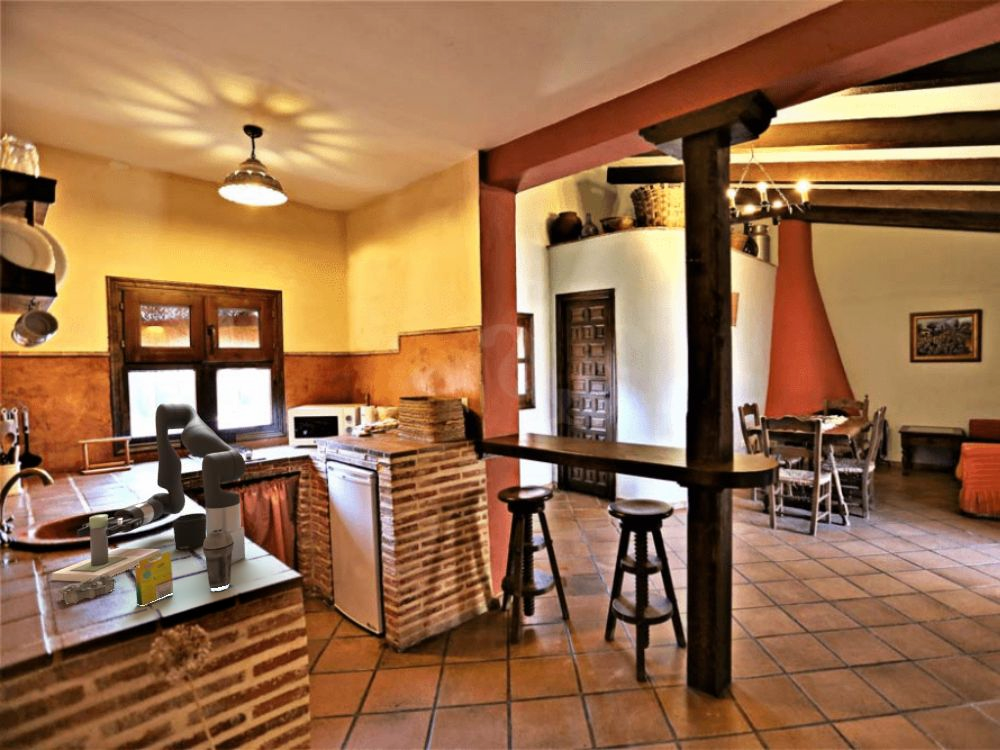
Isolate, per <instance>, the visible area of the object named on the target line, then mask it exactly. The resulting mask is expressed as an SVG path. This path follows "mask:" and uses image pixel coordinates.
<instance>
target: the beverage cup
mask: <svg viewBox="0 0 1000 750" xmlns="http://www.w3.org/2000/svg"><path fill="white" fill-rule="evenodd" d="M216 523H217V530H214V531H212V532H211V533H209V534H208V535H207V534H206V538H205V540H204V543H203V547H202V550H203V554H204V557H205V564H206V571H207V579H208V585H209V589H210V588H218V587H222V586H226V585H228V584H229V583H230V584H231V576H232V575H231V574H232V573H231V572H232V564H231V560H232V550H233V544H234V542H233V538H232V536H231V534H230V533H229V532H228V531H226V530H222V529H219V516H218V512H217V513H216Z"/></svg>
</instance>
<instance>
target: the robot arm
mask: <svg viewBox="0 0 1000 750" xmlns="http://www.w3.org/2000/svg"><path fill="white" fill-rule="evenodd" d="M154 418H155V419H154V420H155V422H154V423H155V435H156V446H157V457H158V464H157V465H158V467H157V479H156V480H157V481H156V483H157V486H158V487H159V488H161V489H164V490H166V491H167V492H159V493H155V494H153V495H152V496H151V497H149V498H148V499H147V500H145V501H143V502H139V503H135V504H132V505H130V506H127V507H124V508H122V509H119V510H117V511H116V512H114V514H113V516H112V517H109V518H108V526H107V527H108V529H106V536H108V537H111V536H114V535H116V534H118V533H119V534H125V533H130V532H132V531H134V530H136V529H139V528H141V527H143V526H145V525H147V524H148V523H150V522H153V521H155V520H158V519H159V518H161V516H162V515H163V514H168V515H177V514H179V513H181V512H182V511H183V510H184V508H185V505H186V497H185V492H184V488H183V485H182V470H183V469H182V468H183V465H182V460H181V457H180V455H179V454H178V452H177V451H176V450H175V448H174V446H173V444H172V443H171V442H170V438H169V430H182V431H181V435H180V440H181V443H182V445H183V447H185V448H186V449H187V451H188V452H189V453H190V454H191V455H193V456H195V457H199V458H202V462H201V475H202V481H203V482H202V483H203V495H204V502H205V514H206V536H207V535H208V534H209V533H211V532H212V531H214V530H217V523H216V513H217V512H218V516H219V529H222V530H226V531H228V532H229V533H230V534H231V536H232V538H233V542H234V544H233V550H232V560H231V565H233V564H235V563H237V562H239V561H241V560H242V559H244V558H246V547H245V546H246V545H245V544H246V543H245V527H244V526H242V523H241V522H242V521H241V519H242V518H241V517H242V516H241V496H240V493H238V492H236V491H232V490H231V491H229V490H225V489H222V488H221V483H227V482H228V483H229V482H231V481H237V480H239V479H241V478H242V477H243V476H244V475H245V473H246V470H247V468H246V467H247V466H246V461H245V459H244V457H243V456H242V454H241V452H239V451H238V450H236V448H234V447H233V446H231V445H229V444H228V443H227V442H226V441H224V440H223V439H221V438H220V436H218V435H217V434H216V432H215V431H214V430H213V429H212V428H211V427H209V426H208V424H207V423H205V422H204V420H202V419H201V418H200V416H199V414H198V413H197V411H196V409H194V407H193V406H192V405H190V404H189V403H185V402H176V403H175V402H174V403H172V402H169V403H167V402H166V403H165V402H164V403H159V405H158V406H157V408H156V410H155V417H154ZM88 535H90V522H87V523H84V524H82V525H81V528H79V529H77V530H76V537H77V538H83V537H84V536H88ZM243 557H244V558H243ZM241 558H242V559H241ZM240 559H241V560H240ZM238 560H239V561H238ZM236 561H237V562H236ZM234 562H235V563H234ZM232 563H233V564H232Z"/></svg>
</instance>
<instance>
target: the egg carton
mask: <svg viewBox="0 0 1000 750" xmlns="http://www.w3.org/2000/svg"><path fill="white" fill-rule="evenodd" d="M115 583H117V581H115V578H114V576H113V577H112V576H111V575H110V574H109V573H107V574H105V575H103V576H100V577H97V578H95V579H91V578H90V579H89V580H87V581H79V582H76V583H69V584H67V585H65V586H63V587H62V588H61V589H60V591H61V601H62V600H65V601H64V604H65V603H74V604H76V603H75V602H78V601H79V600H80V601H82V600H81V599H83V600H85V599H84V598H91V599H93V598H92V597H94V598H96V597H97V596H99V595H98V594H100V595H103V594H102V593H108V592H110V591H111V590H113V589H116V588H115ZM113 591H114V590H113ZM111 592H112V591H111ZM108 594H109V593H108ZM96 595H97V596H96ZM80 601H79V602H80ZM79 602H78V603H79Z"/></svg>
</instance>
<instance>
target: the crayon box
mask: <svg viewBox="0 0 1000 750" xmlns="http://www.w3.org/2000/svg"><path fill="white" fill-rule="evenodd" d="M155 557H156V558H157V559H156V558H155ZM171 557H172V555H171V551H166V552H163V553H160V554H159V555H156V556H153V557H150V558H147V559H144V560H141V561H139V562H140V565H138V566H136V567H134V571H135V572H134V576H135V589H136V590H135V591H136V593H135V594H136V605H137V604H139V605H145V604H147V603H150V602H152V601H155V600H157V599H159V598H162V597H164V596H166V595H168V594H171V593H173V594H174V584H173V570H172V558H171Z"/></svg>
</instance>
